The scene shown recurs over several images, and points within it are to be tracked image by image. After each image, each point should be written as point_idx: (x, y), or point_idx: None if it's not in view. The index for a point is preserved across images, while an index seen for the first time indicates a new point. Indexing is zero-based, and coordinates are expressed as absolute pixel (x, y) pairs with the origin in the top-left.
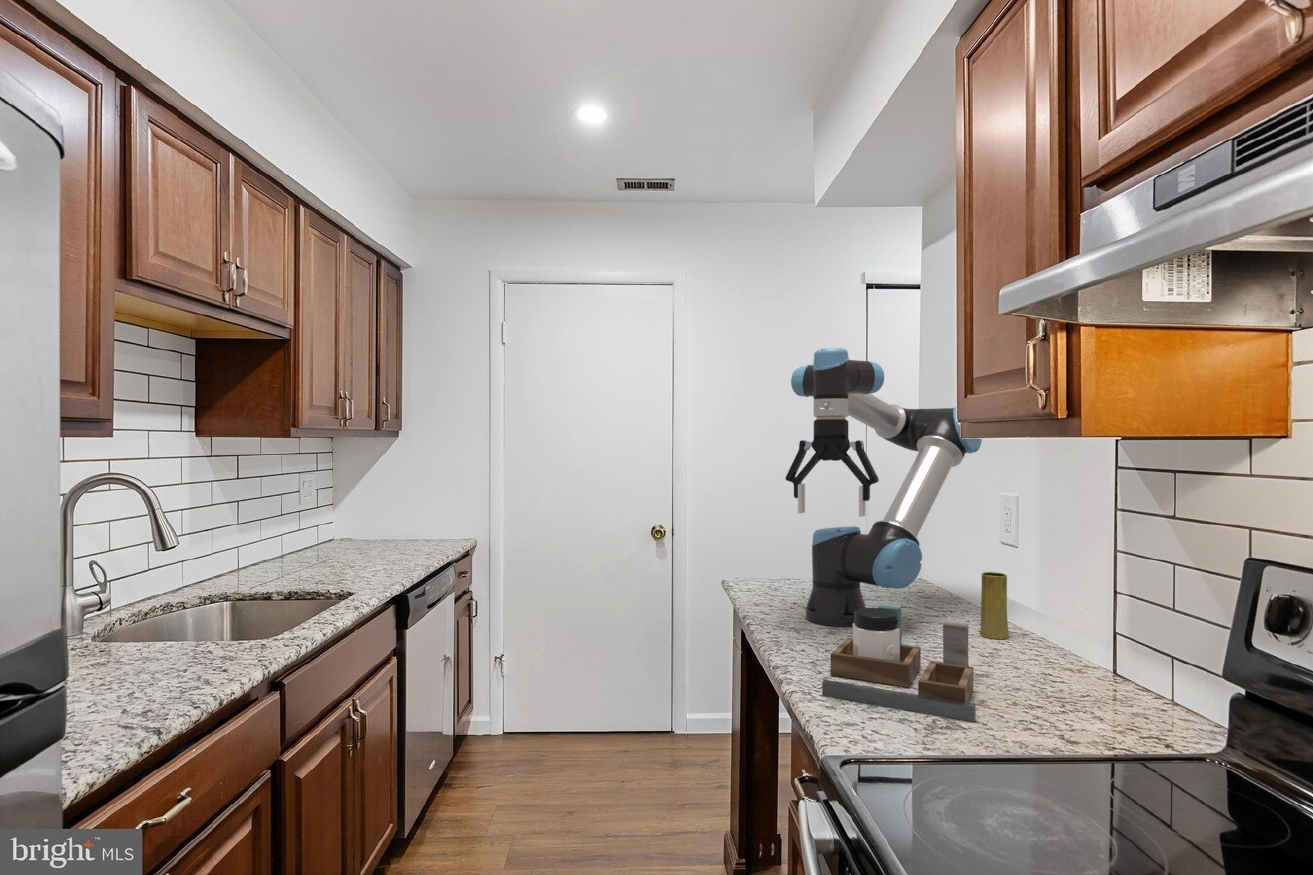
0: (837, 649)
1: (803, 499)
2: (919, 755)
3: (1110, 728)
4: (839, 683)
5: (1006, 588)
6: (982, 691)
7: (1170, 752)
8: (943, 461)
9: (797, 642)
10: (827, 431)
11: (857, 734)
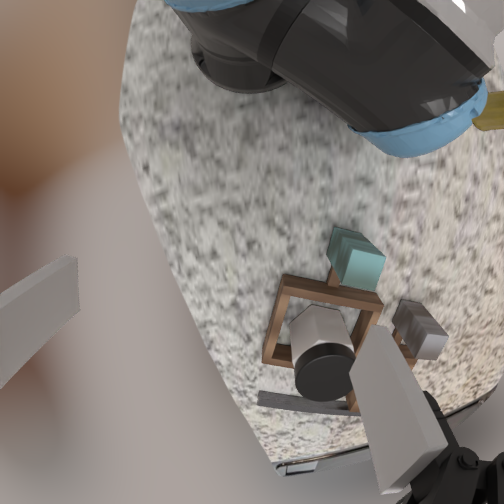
0: (269, 345)
1: (37, 307)
2: (325, 453)
3: (464, 382)
4: (274, 405)
5: None
6: None
7: (470, 401)
8: None
9: (199, 213)
10: None
11: (288, 443)
